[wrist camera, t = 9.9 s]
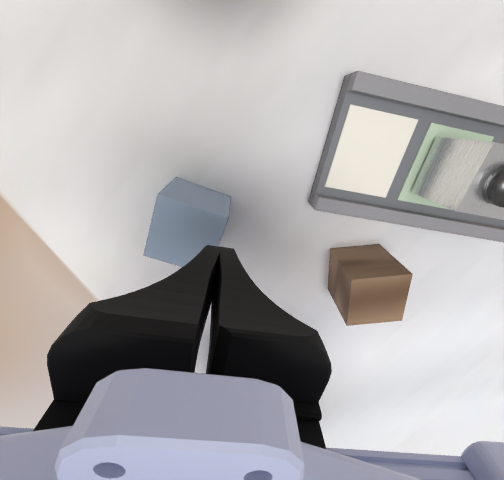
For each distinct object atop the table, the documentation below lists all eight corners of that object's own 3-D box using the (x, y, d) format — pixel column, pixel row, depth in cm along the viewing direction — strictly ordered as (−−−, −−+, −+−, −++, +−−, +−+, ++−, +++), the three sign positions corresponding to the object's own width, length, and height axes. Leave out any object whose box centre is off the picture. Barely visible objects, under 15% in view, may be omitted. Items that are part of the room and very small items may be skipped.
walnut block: (372, 284, 25) (401, 320, 21) (327, 288, 25) (346, 325, 21) (379, 243, 23) (412, 274, 19) (329, 248, 23) (351, 279, 19)
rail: (496, 234, 23) (519, 245, 21) (308, 201, 21) (314, 209, 19) (565, 128, 19) (601, 130, 17) (344, 76, 17) (357, 70, 15)
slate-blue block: (214, 242, 22) (207, 274, 18) (163, 226, 22) (143, 255, 17) (230, 196, 21) (228, 218, 16) (176, 176, 20) (157, 194, 15)
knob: (456, 200, 20) (521, 225, 15) (410, 192, 19) (463, 214, 15) (485, 147, 18) (568, 157, 14) (436, 136, 18) (504, 143, 13)
